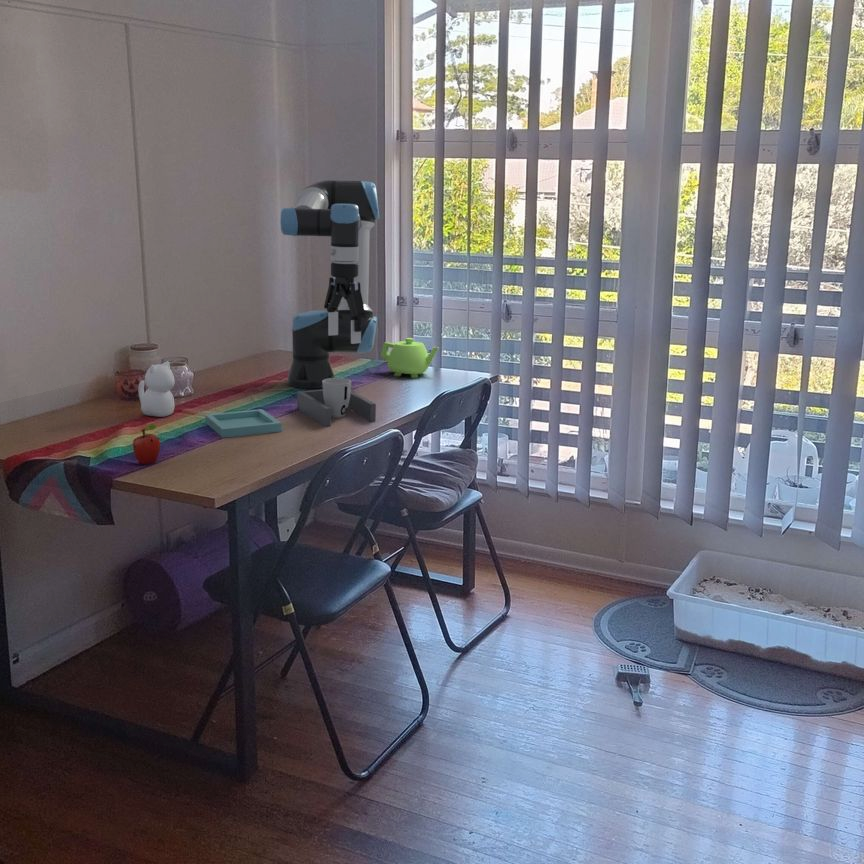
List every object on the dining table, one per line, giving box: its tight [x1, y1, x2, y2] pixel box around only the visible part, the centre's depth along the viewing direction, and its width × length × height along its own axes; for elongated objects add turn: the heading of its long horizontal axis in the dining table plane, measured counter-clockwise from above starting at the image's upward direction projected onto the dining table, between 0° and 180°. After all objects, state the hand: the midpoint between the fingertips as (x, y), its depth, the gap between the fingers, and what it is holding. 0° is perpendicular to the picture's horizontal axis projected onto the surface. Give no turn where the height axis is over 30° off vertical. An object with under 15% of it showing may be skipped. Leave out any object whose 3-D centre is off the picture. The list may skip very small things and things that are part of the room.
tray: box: [204, 408, 283, 439], centre depth 259 cm, size 16×16×2 cm
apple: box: [132, 423, 161, 465], centre depth 225 cm, size 8×7×10 cm
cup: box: [322, 377, 352, 419], centre depth 272 cm, size 8×8×10 cm
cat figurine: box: [137, 360, 176, 418], centre depth 267 cm, size 9×12×15 cm
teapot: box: [380, 337, 440, 379], centre depth 327 cm, size 20×13×13 cm
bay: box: [296, 388, 377, 427], centre depth 274 cm, size 22×15×5 cm
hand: (344, 339), depth 268 cm, fingers open, 13 cm apart
